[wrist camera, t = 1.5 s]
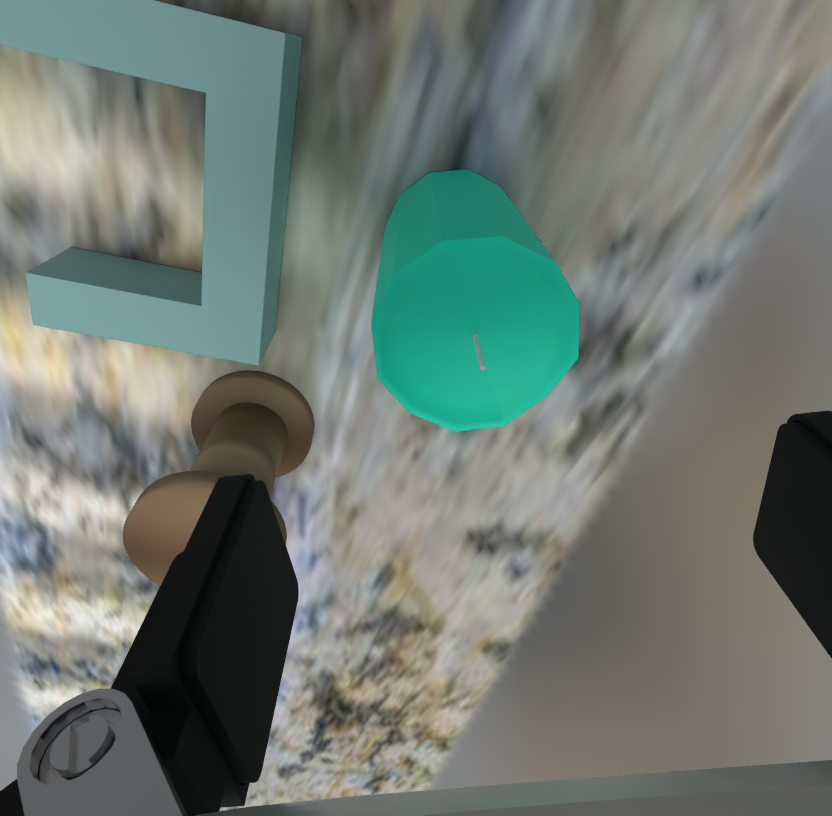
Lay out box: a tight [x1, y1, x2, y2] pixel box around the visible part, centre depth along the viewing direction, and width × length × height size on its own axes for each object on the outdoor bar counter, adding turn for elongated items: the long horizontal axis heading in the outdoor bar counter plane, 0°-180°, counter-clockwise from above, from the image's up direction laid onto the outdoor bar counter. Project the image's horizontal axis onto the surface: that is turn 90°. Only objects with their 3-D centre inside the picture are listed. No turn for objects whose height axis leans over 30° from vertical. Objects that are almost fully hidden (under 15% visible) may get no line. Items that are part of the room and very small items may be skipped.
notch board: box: [0, 0, 303, 365], centre depth 22 cm, size 12×9×4 cm
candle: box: [371, 169, 579, 431], centre depth 20 cm, size 6×6×12 cm
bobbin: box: [123, 371, 314, 586], centre depth 26 cm, size 6×6×9 cm
